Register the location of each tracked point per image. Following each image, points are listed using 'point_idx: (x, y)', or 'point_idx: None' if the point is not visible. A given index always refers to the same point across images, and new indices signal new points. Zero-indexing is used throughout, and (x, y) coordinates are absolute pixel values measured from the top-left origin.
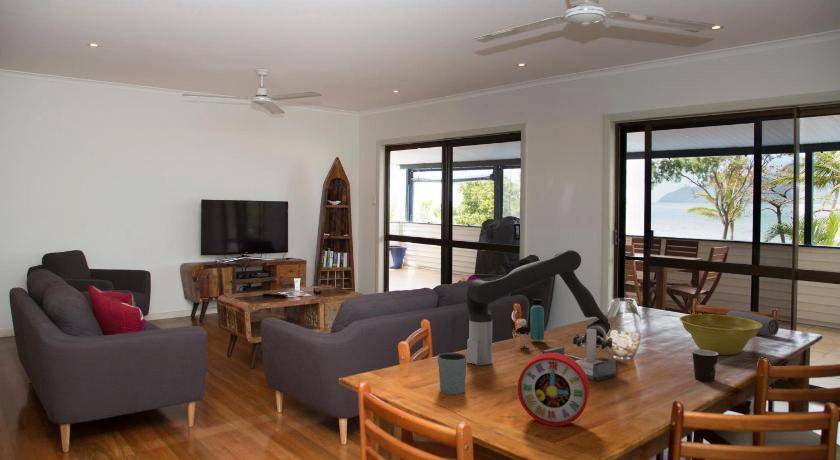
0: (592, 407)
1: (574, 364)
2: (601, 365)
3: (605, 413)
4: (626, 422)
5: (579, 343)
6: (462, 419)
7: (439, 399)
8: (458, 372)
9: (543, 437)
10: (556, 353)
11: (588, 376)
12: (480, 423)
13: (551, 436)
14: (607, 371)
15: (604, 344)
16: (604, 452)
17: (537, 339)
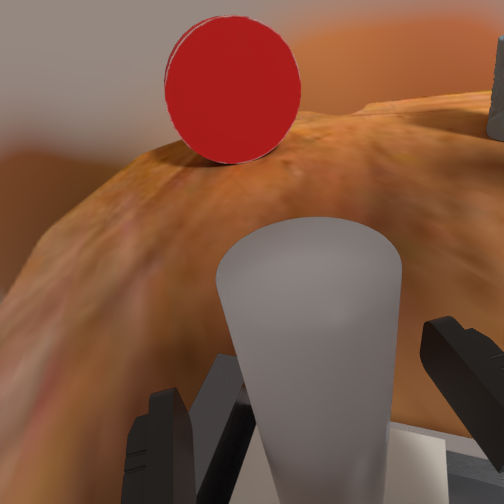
0: (194, 217)
1: (178, 42)
2: (202, 393)
3: (161, 212)
4: (119, 206)
5: (425, 330)
6: (365, 112)
7: (477, 114)
8: (494, 74)
9: None
10: (216, 17)
11: None
12: (334, 118)
13: None
14: None
15: (143, 416)
16: (153, 149)
17: None
